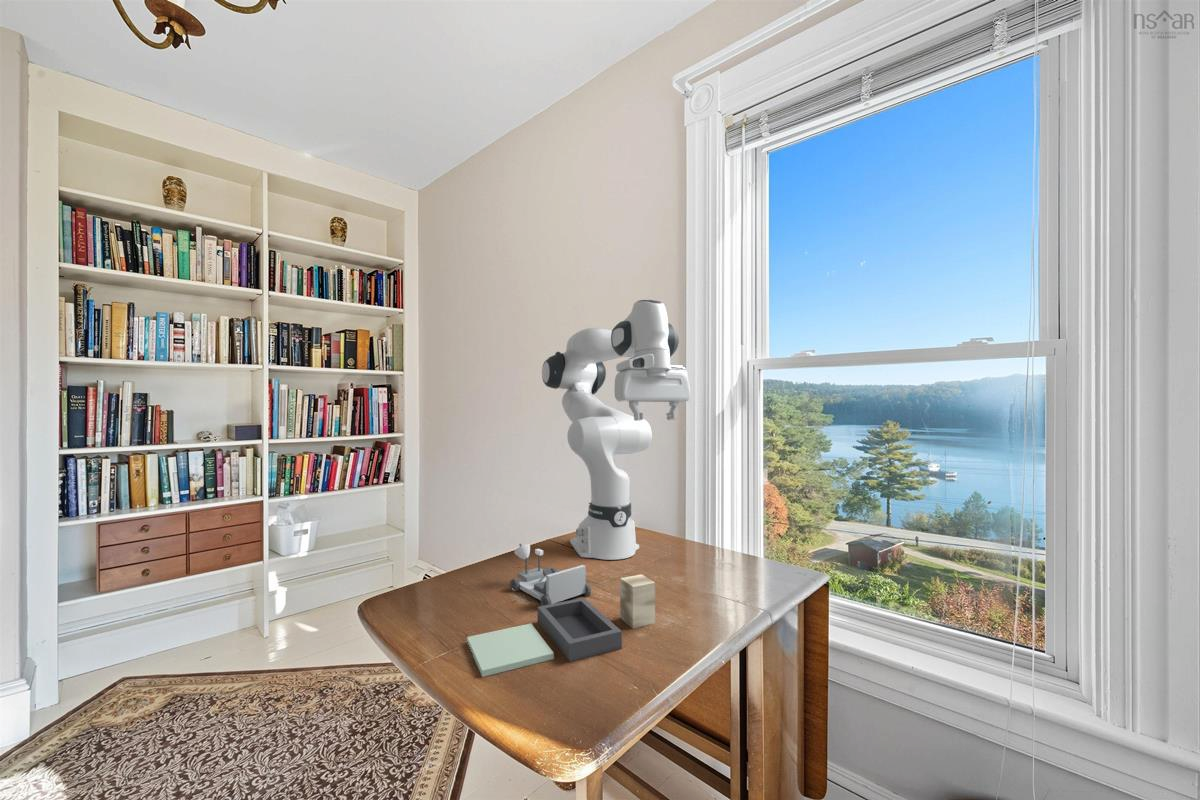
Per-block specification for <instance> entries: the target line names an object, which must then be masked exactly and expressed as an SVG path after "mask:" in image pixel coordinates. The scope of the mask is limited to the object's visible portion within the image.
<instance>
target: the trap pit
mask: <svg viewBox="0 0 1200 800" xmlns="http://www.w3.org/2000/svg"><path fill="white" fill-rule="evenodd" d="M537 623H538V625H539V626H540V627H541V628H542V629H543V631H544V632H545V633H546V634H547V636H548V637H549V638H550V639H551V641H552V642H553V644H555V646H556V647H557V648H558V650H559V651H560V652H561V654H563V656H564V657H565V658H566V660H567V661H568V662H569V663H571V662H574V661H578V660H582V659H583V660H584V659H586V658H589V657H594V656H596V655H597V656H598V655H601V654H605V653H608V652H612V651H618V650H620V649H623V642H622V641H623V631H622V630H621V629H620V628H619V627H618V626H617V625H615V624H614V623H613V622H612V621H611V620H610V619H609V618H608V617H606V616H605V615H604V614H603V613H602V612H601V611H600V610H598V608H596V607H595V606H594V605H593V604H592V603H591V602H589V601H588V600H587V599H586V598H585V597H581V598H577V599H570V600H566V601H565V600H564V601H560V602H557V603H554V604H550V605H545V606H541V605H540V606H537Z"/></svg>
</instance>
